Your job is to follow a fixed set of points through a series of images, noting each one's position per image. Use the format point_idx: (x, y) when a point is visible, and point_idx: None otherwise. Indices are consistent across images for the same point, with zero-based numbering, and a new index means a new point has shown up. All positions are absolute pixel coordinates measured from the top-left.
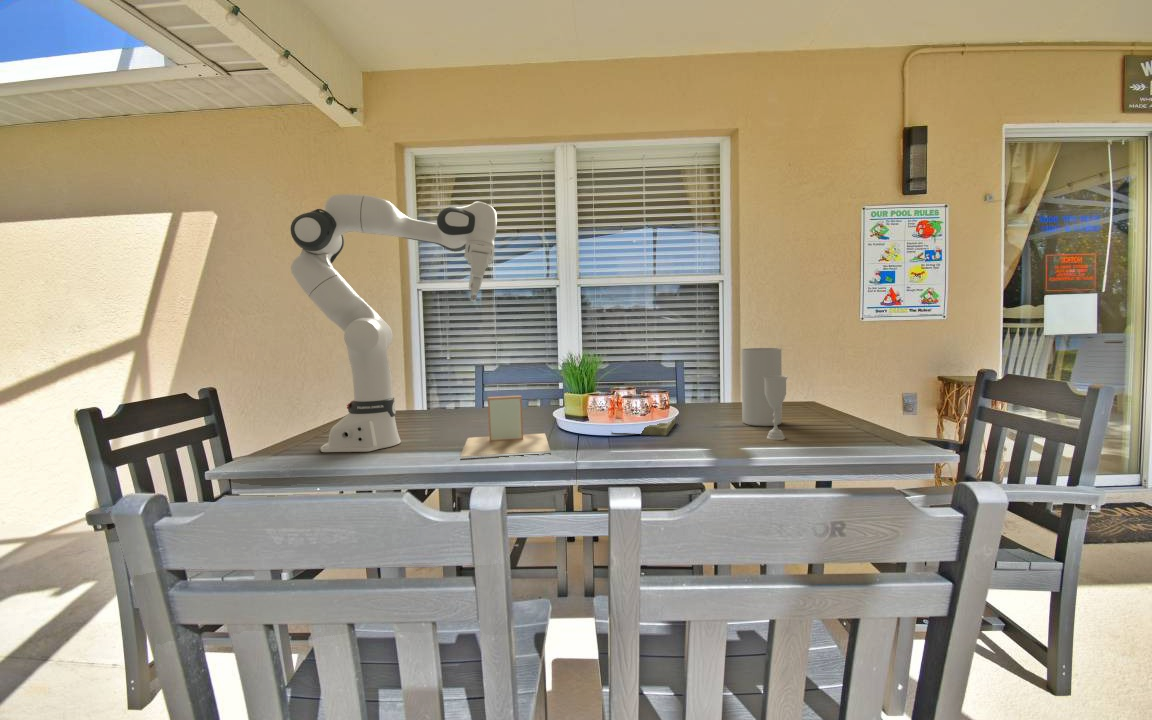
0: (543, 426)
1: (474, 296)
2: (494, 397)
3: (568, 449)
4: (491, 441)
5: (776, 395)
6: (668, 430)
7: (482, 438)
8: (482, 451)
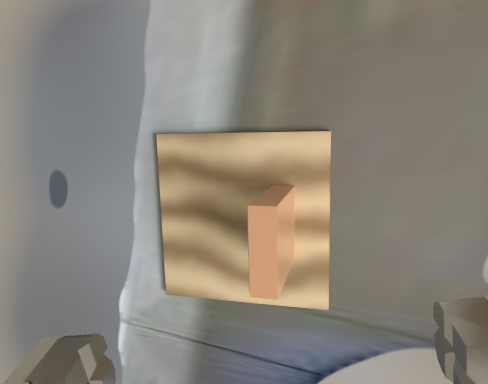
0: None
1: (460, 377)
2: (258, 224)
3: (200, 327)
4: None
5: None
6: None
7: (310, 167)
8: (186, 174)
